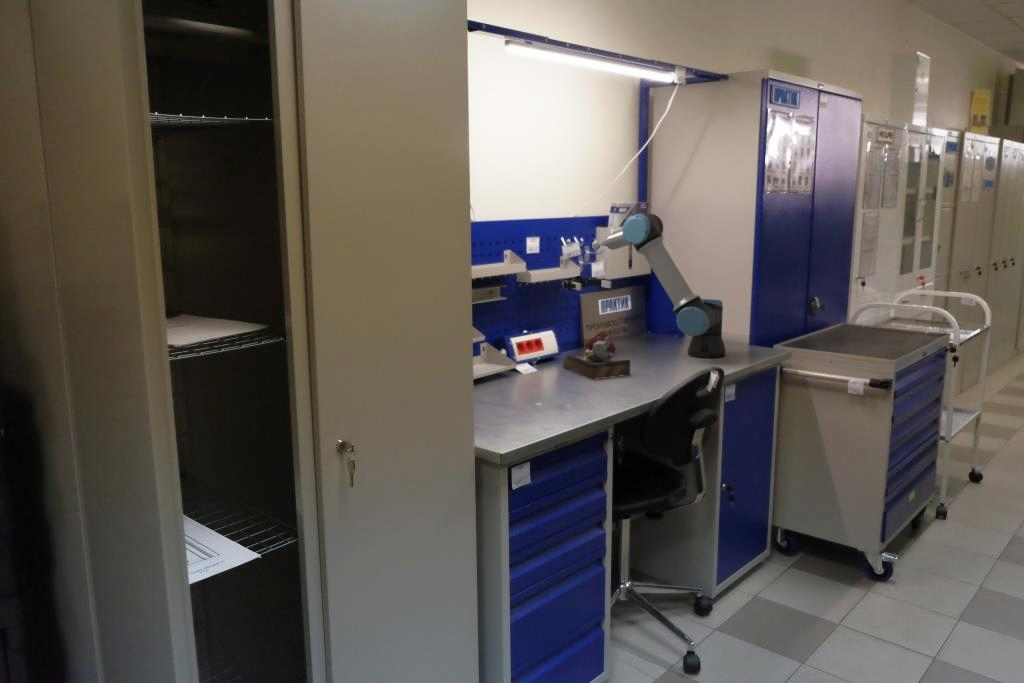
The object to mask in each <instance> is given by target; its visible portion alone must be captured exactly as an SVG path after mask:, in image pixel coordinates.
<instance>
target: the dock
mask: <svg viewBox="0 0 1024 683" xmlns="http://www.w3.org/2000/svg"><path fill="white" fill-rule="evenodd" d="M585 357H587V355H586V354H584V355H577V356H574V355H572V354H568V355H566V357H563V369H565V368H566V369H565V370H567V369H568V370H567V371H570V370H571V372H572V371H573V372H572V373H575V374H577V373H578V375H579V374H581V375H580V376H582V375H583V376H582V377H584V376H586V377H585V378H587V377H588V378H587V379H589V378H591V379H594V380H596V379H595V378H602V377H610V376H617V377H621V376H620V375H625V376H630V375H631V360H630V359H622V360H618V359H616V358H613V357H612V358H611V359H610V360H609V362H601V361H593V360H590V359H588V360H587V361H585V360H584V359H585ZM629 374H630V375H629ZM610 378H611V377H610ZM591 379H590V380H591ZM602 379H603V378H602Z"/></svg>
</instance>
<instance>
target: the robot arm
mask: <svg viewBox="0 0 1024 683" xmlns="http://www.w3.org/2000/svg"><path fill="white" fill-rule="evenodd" d="M612 232H613V233H612V234H611V235H610V236H609V237H608V238H607V240H606V241H603V242H602V244H601V243H600V242H597V240H596V239H594V241H593V243H592V248H593V249H594V251H597V250H598V249H599V248H600V246H601V245H602V246H603V245H604V246H607V247H608V248H609V249H612V251H614V250H619V249H621V248H625V247H627V246H631V245H632V246H633V247H634V249H635V250H636V252H637V253H638V254H639V255H643V256H644V258H645V260H646V261H647V263H648V264H649V266H650V267H651V270H652V271H653V272H654V274H655V276H656V278H657V280H658V281H659V282H660V285H661V286H662V287H663V289H664V291H665V293H666V294H667V296H668V297H669V299H670V300H671V302H672V304H673V314H675V316H676V319H675V321H676V325H677V327H678V329H679V331H680V332H682V333H683V334H684V335H686V336H690V337H691V338H690V341H689V345H688V347H687V355H688V356H690V357H693V356H694V358H700V357H703V358H704V359H711V358H710V357H718V358H721V357H720V356H723V357H725V356H726V353H727V350H726V347H725V343H724V341H723V337H722V336H723V335H722V334H723V313H724V312H723V309H724V306H723V305H724V304H723V301H722V300H720V299H709V298H701V297H700V295H698V294H694V293H693V291H692V290H691V288H690V286H689V284H688V283H687V281H686V279H685V278H684V276H683V275H682V273H681V271H680V270H679V268H678V267H677V265H676V263H675V261H674V260H673V258H672V257H671V255H670V254H669V252H668V250H667V248H666V247H665V246H664V244H663V240H664V236H663V233H664V223H663V221H662V219H661V218H660V217H659V216H658V215H655V214H653V213H644V214H643V213H638V214H633V215H631V216H630V217H628V218H627V219H626V220H625V221H624V223H623V226H622V228H619V229H618V230H615V231H612ZM599 243H600V244H601V245H600V244H599ZM562 286H563V288H564V289H563V288H562V289H563V290H566V289H568V291H571V292H572V291H573V292H575V291H582V288H585V287H586V288H588V287H590V286H591V287H602V288H606V289H612V281H611V280H609V279H606V278H605V277H603V278H602V279H600V278H591V277H589V278H585V277H582V276H581V275H580V276H577V277H574V278H570V279H566V280H562ZM724 355H725V356H724ZM703 358H702V359H703Z"/></svg>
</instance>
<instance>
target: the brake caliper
mask: <svg viewBox="0 0 1024 683" xmlns="http://www.w3.org/2000/svg"><path fill="white" fill-rule="evenodd" d="M598 337H599V338H598ZM616 350H617V348H616V345H615V344H614V342H613V341H612V340H611V339H610V337H609V335H608V334H607V332H605V330H601V331H599V332H597V334H595V335H594V336H592V337H591V338H589V339H588V340H587V342H585V352H584V355H587V357H585V359H584V360H585V361H587V360H588V359H590V360H593V361H601V362H609V360H610V359H611V358H613V357H614V355H615V353H616Z"/></svg>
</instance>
